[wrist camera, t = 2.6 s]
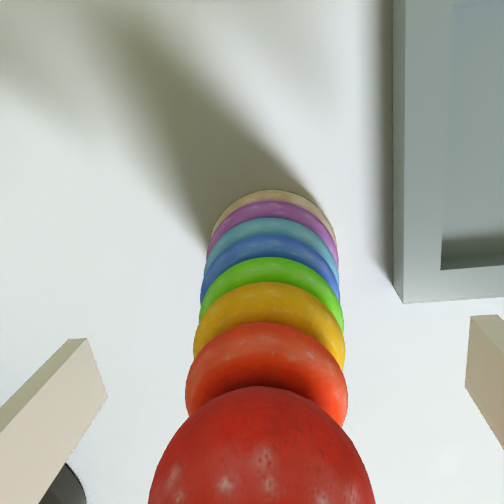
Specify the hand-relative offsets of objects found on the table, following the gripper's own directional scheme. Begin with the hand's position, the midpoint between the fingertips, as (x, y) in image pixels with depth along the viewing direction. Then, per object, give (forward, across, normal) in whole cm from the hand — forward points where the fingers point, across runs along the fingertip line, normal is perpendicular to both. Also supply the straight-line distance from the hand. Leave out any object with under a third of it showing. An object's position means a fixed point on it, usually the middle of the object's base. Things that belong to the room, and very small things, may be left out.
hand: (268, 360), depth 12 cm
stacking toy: (+12, 0, 0) cm, 12 cm away
